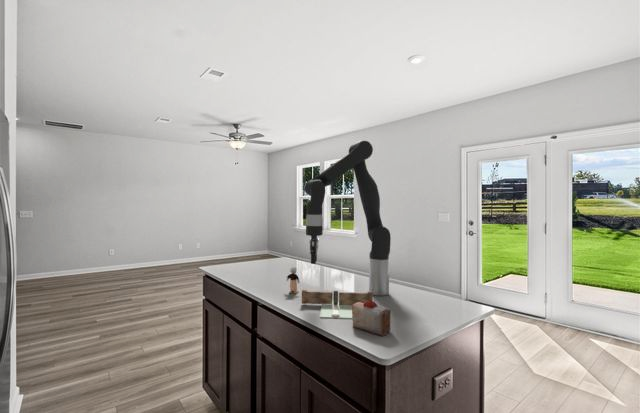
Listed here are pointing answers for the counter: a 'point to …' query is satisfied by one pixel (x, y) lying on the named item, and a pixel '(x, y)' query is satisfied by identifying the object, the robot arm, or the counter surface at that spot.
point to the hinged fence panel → (319, 297)
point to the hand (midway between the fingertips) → (313, 262)
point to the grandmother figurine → (293, 280)
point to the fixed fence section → (354, 298)
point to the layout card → (336, 311)
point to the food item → (371, 317)
